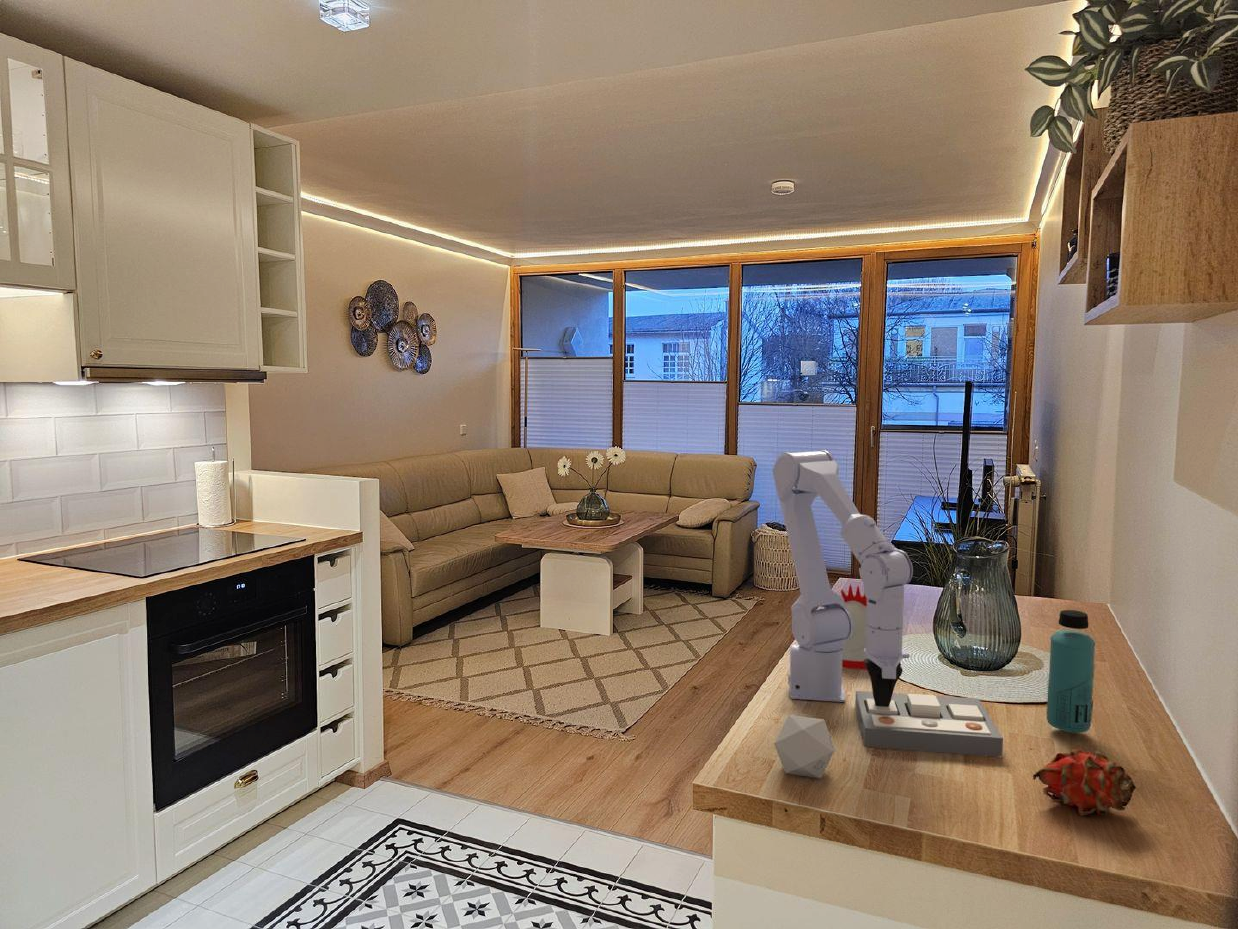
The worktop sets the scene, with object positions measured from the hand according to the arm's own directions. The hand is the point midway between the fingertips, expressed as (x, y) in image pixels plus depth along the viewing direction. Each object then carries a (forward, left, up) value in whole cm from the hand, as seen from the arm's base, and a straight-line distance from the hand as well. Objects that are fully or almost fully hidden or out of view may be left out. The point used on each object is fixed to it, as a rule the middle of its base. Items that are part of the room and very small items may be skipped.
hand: (881, 705), depth 134 cm
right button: (+13, 0, -2) cm, 13 cm away
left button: (0, 0, -2) cm, 2 cm away
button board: (+6, -1, -3) cm, 7 cm away
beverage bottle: (+29, +2, -4) cm, 29 cm away
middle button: (+6, 0, -1) cm, 7 cm away
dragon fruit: (+23, -22, -4) cm, 32 cm away
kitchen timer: (-2, +32, -4) cm, 33 cm away
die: (-13, -18, -4) cm, 23 cm away
